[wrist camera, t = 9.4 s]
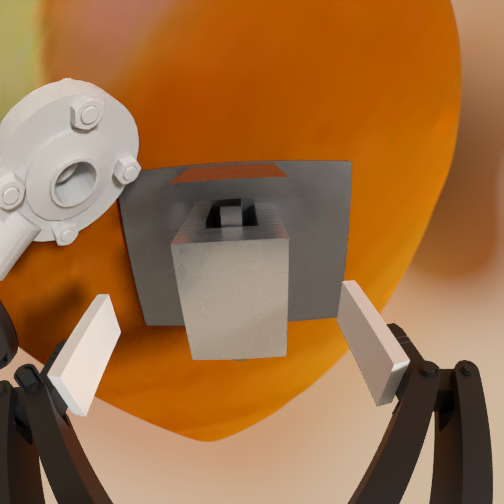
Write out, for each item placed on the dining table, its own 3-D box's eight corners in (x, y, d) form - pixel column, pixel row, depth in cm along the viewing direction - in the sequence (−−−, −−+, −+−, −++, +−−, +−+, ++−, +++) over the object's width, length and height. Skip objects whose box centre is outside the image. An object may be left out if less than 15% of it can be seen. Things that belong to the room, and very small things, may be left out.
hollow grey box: (204, 303, 25) (194, 365, 18) (193, 207, 21) (170, 244, 15) (274, 300, 25) (285, 361, 18) (273, 202, 22) (288, 238, 15)
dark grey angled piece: (148, 321, 26) (125, 378, 19) (118, 173, 21) (68, 194, 14) (336, 313, 26) (362, 369, 20) (349, 160, 21) (396, 176, 14)
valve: (165, 170, 20) (32, 310, 17) (79, 93, 24) (-12, 188, 21) (110, 59, 10) (-73, 277, 7) (41, 28, 14) (-67, 141, 12)
